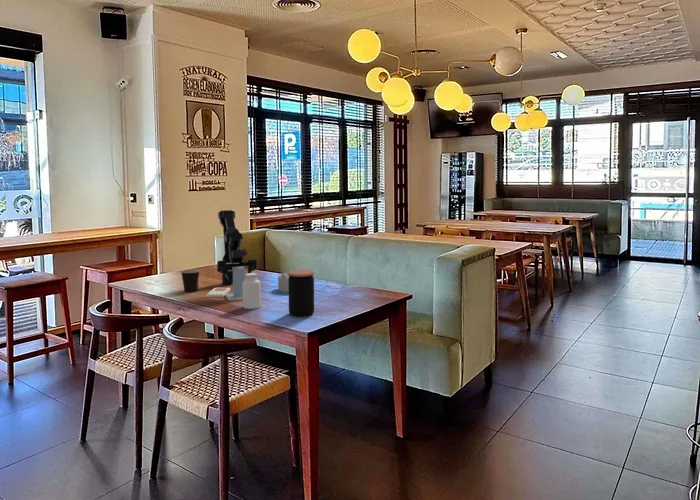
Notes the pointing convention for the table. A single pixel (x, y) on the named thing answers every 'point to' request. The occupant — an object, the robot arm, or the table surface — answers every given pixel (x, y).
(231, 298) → the tray
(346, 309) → the table surface
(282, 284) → the lumpy-topped squat cylinder
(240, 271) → the blue tall block
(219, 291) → the board
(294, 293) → the coffee jar
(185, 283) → the coffee mug
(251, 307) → the pill bottle
